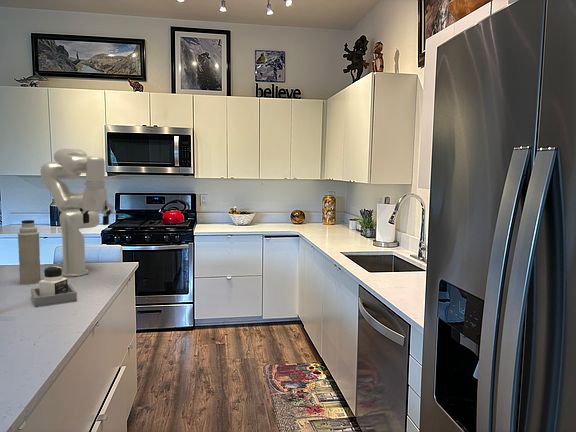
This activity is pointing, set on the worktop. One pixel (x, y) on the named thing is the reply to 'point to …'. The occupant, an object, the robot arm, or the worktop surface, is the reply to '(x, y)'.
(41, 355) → the worktop surface
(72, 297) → the tray
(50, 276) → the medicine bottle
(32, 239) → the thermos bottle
